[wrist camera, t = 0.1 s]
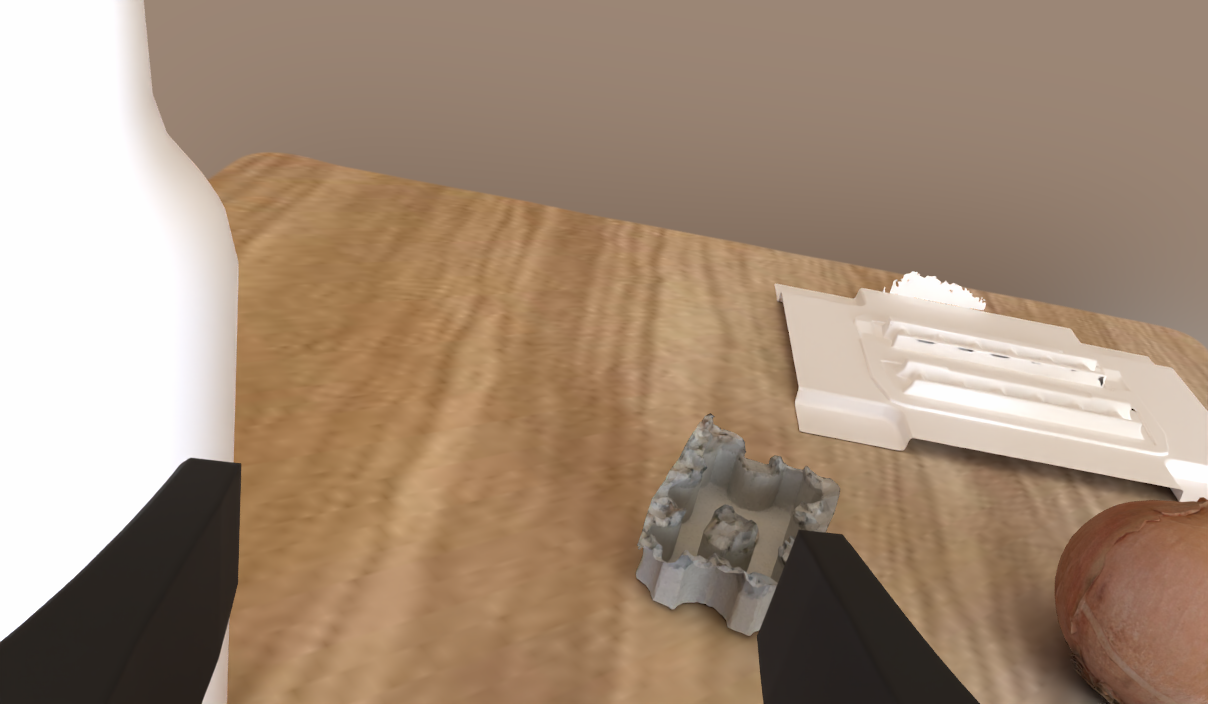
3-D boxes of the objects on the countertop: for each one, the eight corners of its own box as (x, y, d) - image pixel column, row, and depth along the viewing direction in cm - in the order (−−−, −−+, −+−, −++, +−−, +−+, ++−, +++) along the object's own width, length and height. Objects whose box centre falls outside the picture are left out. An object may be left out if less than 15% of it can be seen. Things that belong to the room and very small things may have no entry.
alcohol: (214, 629, 41) (231, -288, 27) (240, 828, 34) (281, -266, 20) (-60, 664, 37) (-207, -374, 23) (-93, 895, 30) (-329, -382, 16)
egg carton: (688, 472, 56) (706, 404, 54) (830, 527, 54) (854, 459, 52) (610, 589, 47) (628, 512, 45) (777, 660, 45) (803, 583, 43)
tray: (1283, 524, 62) (1312, 470, 61) (795, 448, 62) (811, 392, 60) (1147, 355, 80) (1166, 310, 79) (769, 296, 80) (780, 249, 78)
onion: (1119, 686, 52) (1237, 507, 51) (1273, 813, 43) (1419, 599, 42) (967, 612, 50) (1087, 420, 48) (1097, 730, 41) (1248, 499, 39)
